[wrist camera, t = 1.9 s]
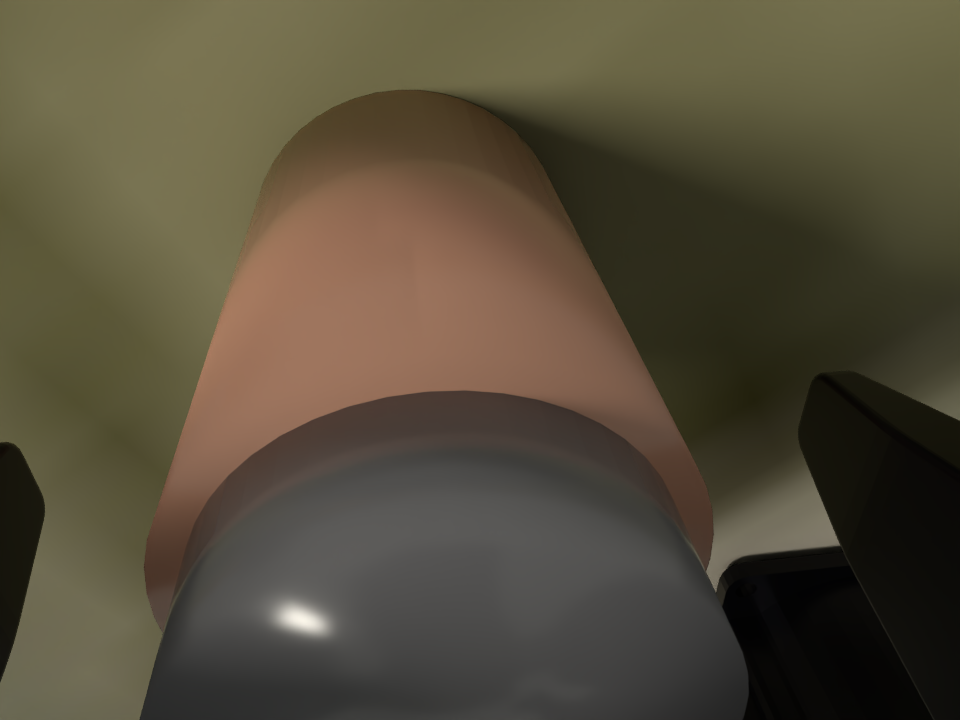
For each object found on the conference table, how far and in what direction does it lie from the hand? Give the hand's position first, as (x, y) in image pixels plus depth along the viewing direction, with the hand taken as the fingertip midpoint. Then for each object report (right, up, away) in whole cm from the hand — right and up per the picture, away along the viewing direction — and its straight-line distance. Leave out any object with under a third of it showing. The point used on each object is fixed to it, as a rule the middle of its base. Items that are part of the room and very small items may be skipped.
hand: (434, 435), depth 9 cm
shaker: (-1, +3, +4) cm, 5 cm away
